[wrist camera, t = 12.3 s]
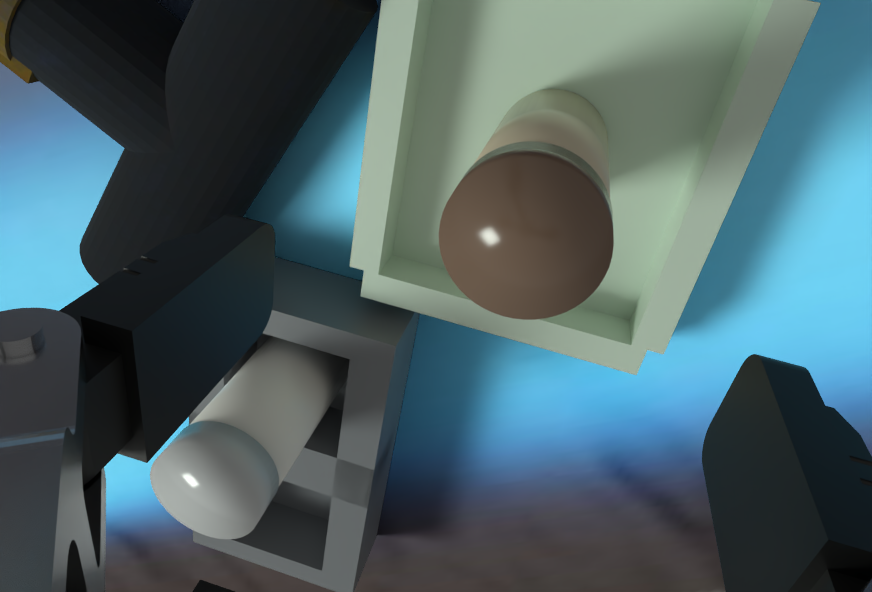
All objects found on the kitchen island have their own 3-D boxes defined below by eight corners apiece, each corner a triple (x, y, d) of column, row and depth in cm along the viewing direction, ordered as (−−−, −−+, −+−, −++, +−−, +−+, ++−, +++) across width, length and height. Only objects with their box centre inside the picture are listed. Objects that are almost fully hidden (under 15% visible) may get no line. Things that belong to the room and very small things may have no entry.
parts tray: (419, -123, 20) (397, -133, 18) (815, -45, 18) (842, -47, 16) (367, 266, 27) (346, 292, 25) (648, 345, 26) (652, 379, 24)
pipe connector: (-97, 143, 24) (1, -282, 16) (15, 113, 28) (131, -230, 21) (152, 328, 25) (345, 19, 18) (219, 271, 30) (396, 6, 22)
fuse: (272, 306, 28) (146, 435, 20) (357, 330, 28) (260, 471, 20) (269, 376, 30) (153, 517, 22) (348, 400, 30) (257, 553, 22)
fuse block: (235, 245, 28) (184, 284, 25) (422, 298, 27) (396, 346, 24) (232, 487, 36) (193, 541, 33) (376, 535, 35) (351, 597, 32)
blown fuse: (508, 75, 21) (456, 138, 14) (626, 102, 21) (639, 183, 13) (483, 185, 24) (425, 294, 16) (589, 212, 23) (583, 338, 15)
